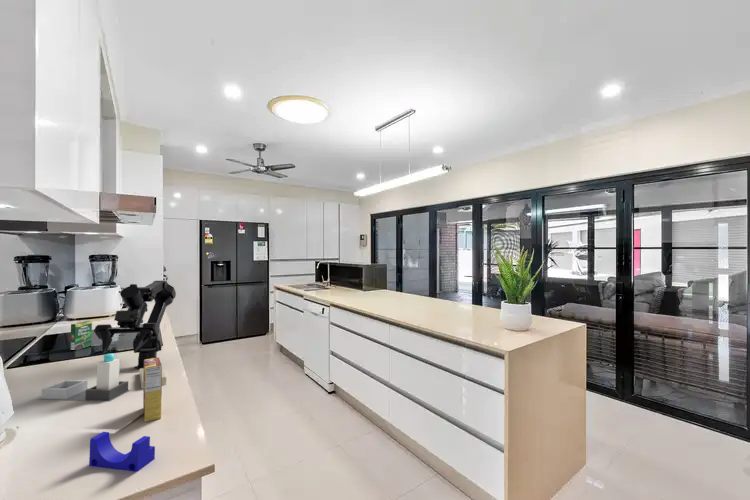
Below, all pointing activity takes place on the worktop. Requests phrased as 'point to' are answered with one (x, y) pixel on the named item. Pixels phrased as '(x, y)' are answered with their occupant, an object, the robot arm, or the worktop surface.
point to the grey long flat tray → (82, 391)
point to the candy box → (152, 389)
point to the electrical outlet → (141, 374)
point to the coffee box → (81, 335)
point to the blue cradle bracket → (120, 454)
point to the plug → (108, 372)
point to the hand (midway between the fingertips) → (119, 352)
